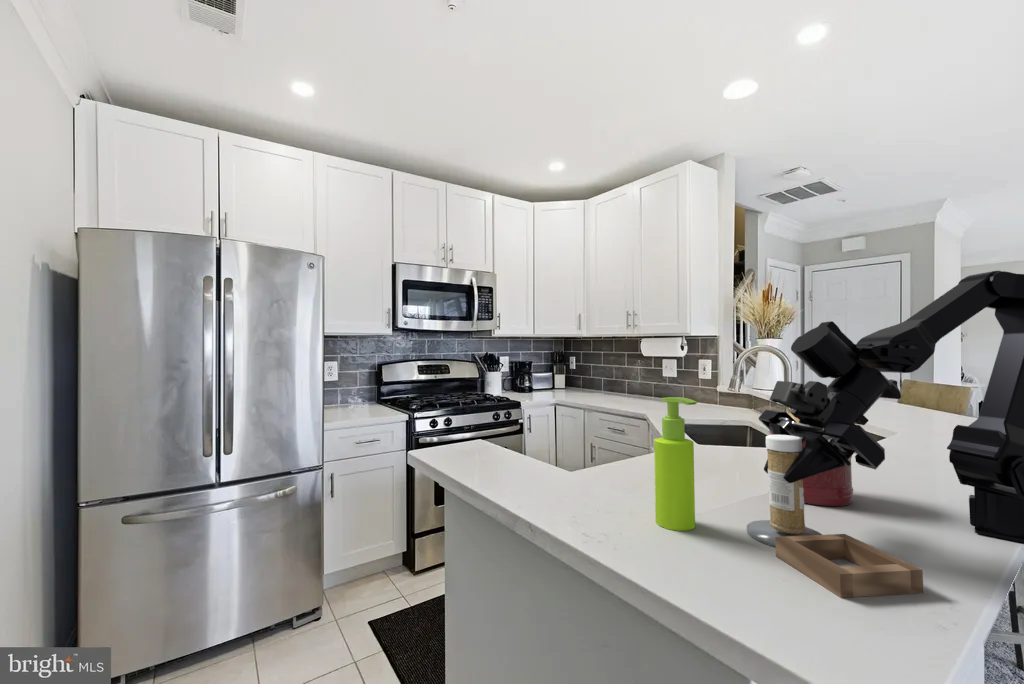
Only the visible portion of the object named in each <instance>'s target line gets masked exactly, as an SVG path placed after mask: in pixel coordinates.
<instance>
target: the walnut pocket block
mask: <svg viewBox="0 0 1024 684" xmlns="http://www.w3.org/2000/svg"><path fill="white" fill-rule="evenodd" d="M775 543H776V547H775V557H777V558H778V559H779V560H781V561H783V562H784V563H786V564H787V565H789V566H791V567H792V568H794V570H796V571H798V572H799V573H802V574H803V575H805V576H806V577H807V578H809V579H811V580H813V581H814V582H815V583H817V584H819V585H820V586H822V587H823V588H825V589H827V590H828V591H829V592H831V593H833V594H835V595H836V596H838V597H839V598H840V599H841V598H842V599H843V598H855V597H857V598H858V597H873V596H874V597H875V596H890V595H893V596H895V595H906V594H907V595H908V594H924V571H923V569H922V568H919V567H917V566H916V565H913V564H911V563H908V562H907V561H905V560H903V559H900V558H898V557H896V556H893V555H891V554H890V553H887V552H885V551H883V550H881V549H879V548H876V547H874V546H872V545H870V544H867V543H866V542H864V541H862V540H859V539H857V538H854V537H853V536H850V535H849V534H846V533H834V534H832V533H831V534H830V533H829V534H822V535H807V536H785V537H775ZM837 559H840V560H841V559H846V560H847V561H849V562H851V563H853V564H855V565H857V566H840V565H838V564H836V563H834V562H832V561H831V560H837Z"/></svg>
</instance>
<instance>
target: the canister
mask: <svg viewBox="0 0 1024 684" xmlns="http://www.w3.org/2000/svg"><path fill="white" fill-rule="evenodd" d="M787 413H788V414H789V415H790V416H791V417H792V418H793V419H794V420H795V421H796V422H797V423H799V421H800V420H799V419H798V418H796V417H794V416H793V415H792V414H791V413H790V412H787ZM768 430H769V429H768ZM768 433H769V435H774V434H773V433H772V432H771V431H770V430H769V431H768ZM805 443H806V440H805V441H804V442H803V443H802V447H803V448H805ZM852 458H853V455H852V456H851V457H850V458H849V459H848V461H849V462H850V463H851V464H852ZM852 476H853V475H852V465H851V466H849V467H847V466H843V467H839V468H836V469H832V470H829V471H825V472H822V473H819V474H816V475H813V476H810V477H807V478H804V479H802V480H803V492H804V504H807V503H808V504H809V505H815V506H824V507H827V506H828V507H841V506H847V505H850V504H851V503H853V497H854V488H853V482H852V481H853V480H852V479H853V477H852Z"/></svg>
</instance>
